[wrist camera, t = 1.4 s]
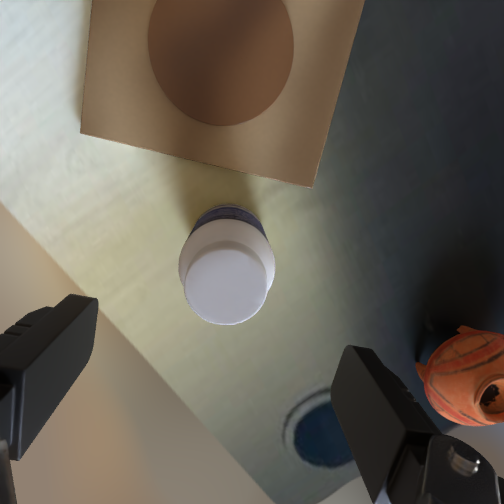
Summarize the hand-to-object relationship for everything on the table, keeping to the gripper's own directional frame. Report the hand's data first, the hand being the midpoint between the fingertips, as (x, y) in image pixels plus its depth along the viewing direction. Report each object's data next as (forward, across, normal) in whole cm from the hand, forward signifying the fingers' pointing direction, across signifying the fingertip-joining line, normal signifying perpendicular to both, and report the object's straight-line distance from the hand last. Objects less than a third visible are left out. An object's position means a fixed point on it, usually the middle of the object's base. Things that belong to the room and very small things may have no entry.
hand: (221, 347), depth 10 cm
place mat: (+15, +3, -12) cm, 19 cm away
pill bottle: (+15, 0, 0) cm, 15 cm away
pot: (+15, -21, +6) cm, 26 cm away
